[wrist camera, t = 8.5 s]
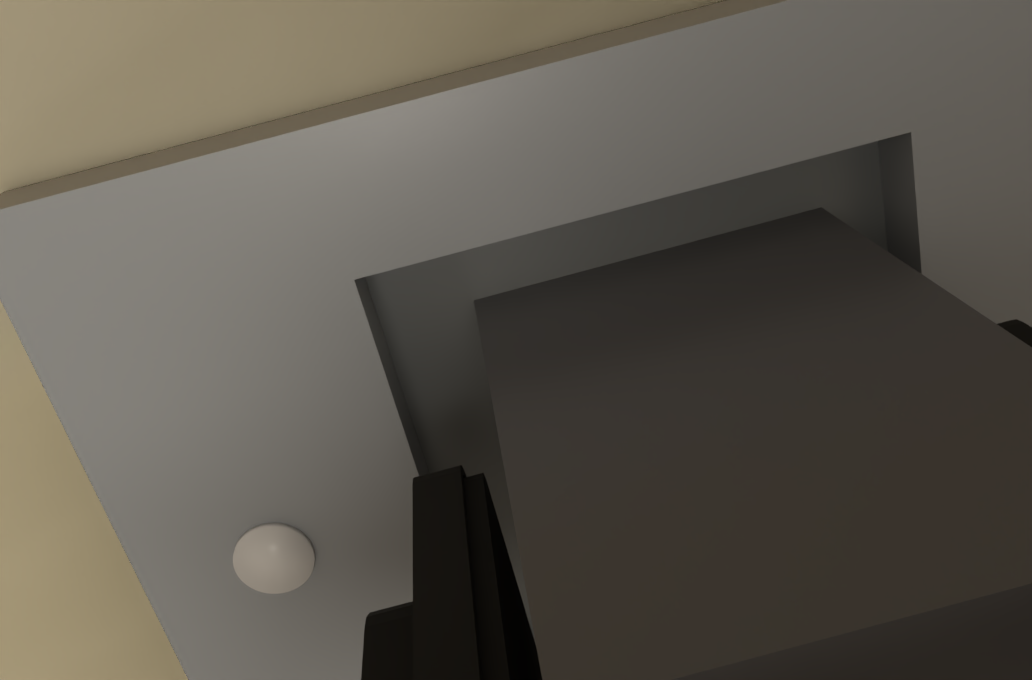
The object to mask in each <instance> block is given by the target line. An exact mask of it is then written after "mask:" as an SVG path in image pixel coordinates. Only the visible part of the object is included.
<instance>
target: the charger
mask: <svg viewBox="0 0 1032 680" xmlns="http://www.w3.org/2000/svg"><path fill="white" fill-rule="evenodd" d="M474 304H475V309H476V315H477V321H478V326H479V332H480V337H481V343H482V348H483V354H484V359H485V365H486V370H487V376H488V381H489V387H490V393H491V398H492V404H493V409H494V415H495V420H496V426H497V431H498V437H499V442H500V448H501V453H502V459H503V465H504V470H505V476H506V481H507V487H508V492H509V498H510V503H511V509H512V514H513V520H514V525H515V531H516V537H517V542H518V548H519V553H520V559H521V564H522V570H523V575H524V581H525V586H526V592H527V597H528V603H529V609H530V614H531V620H532V625H533V631H534V636H535V642H536V647H537V653H538V658H539V664H540V669H541V675H542V680H1032V347H1030V346H1029V345H1027V344H1026V343H1024V342H1023V341H1021V340H1020V339H1018V338H1017V337H1015V336H1014V335H1012V334H1011V333H1009V332H1008V331H1006V330H1005V329H1003V328H1002V327H1000V326H999V325H997V324H996V323H994V322H993V321H991V320H990V319H988V318H987V317H985V316H984V315H982V314H981V313H979V312H978V311H976V310H975V309H973V308H972V307H970V306H969V305H967V304H966V303H964V302H963V301H961V300H960V299H958V298H957V297H955V296H954V295H952V294H951V293H949V292H948V291H946V290H945V289H943V288H942V287H940V286H939V285H937V284H936V283H934V282H933V281H931V280H930V279H928V278H927V277H925V276H924V275H922V274H921V273H919V272H918V271H916V270H915V269H913V268H912V267H910V266H909V265H907V264H906V263H904V262H903V261H901V260H900V259H898V258H897V257H895V256H894V255H892V254H891V253H889V252H888V251H886V250H885V249H883V248H882V247H880V246H879V245H877V244H876V243H874V242H873V241H871V240H870V239H868V238H867V237H865V236H864V235H862V234H861V233H859V232H858V231H856V230H855V229H853V228H852V227H850V226H849V225H847V224H846V223H844V222H843V221H841V220H840V219H838V218H837V217H835V216H834V215H832V214H831V213H829V212H828V211H826V210H825V209H823V208H822V207H820V208H816V209H813V210H809V211H805V212H801V213H798V214H794V215H790V216H787V217H783V218H779V219H775V220H772V221H768V222H764V223H760V224H757V225H753V226H749V227H745V228H742V229H738V230H734V231H731V232H727V233H723V234H719V235H716V236H712V237H708V238H704V239H701V240H697V241H693V242H689V243H686V244H682V245H678V246H675V247H671V248H667V249H663V250H660V251H656V252H652V253H648V254H645V255H641V256H637V257H634V258H630V259H626V260H622V261H619V262H615V263H611V264H607V265H604V266H600V267H596V268H592V269H589V270H585V271H581V272H578V273H574V274H570V275H566V276H563V277H559V278H555V279H551V280H548V281H544V282H540V283H536V284H533V285H529V286H525V287H522V288H518V289H514V290H510V291H507V292H503V293H499V294H495V295H492V296H488V297H484V298H480V299H477V300H474Z"/></svg>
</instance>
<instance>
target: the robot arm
mask: <svg viewBox="0 0 1032 680" xmlns="http://www.w3.org/2000/svg"><path fill="white" fill-rule="evenodd" d="M997 325H999V326H1000V327H1002V328H1003V329H1005V330H1006V331H1008V332H1009V333H1011V334H1012V335H1014V336H1015V337H1017V338H1018V339H1020V340H1021V341H1023V342H1024V343H1026V344H1027V345H1029V346H1030V347H1032V327H1030V326H1029V325H1027V324H1026V323H1024V322H1022V321H1020V320H1017V319H1015V320H1010V321H1006V322H1002V323H998V324H997ZM412 493H413V601H412V602H408V603H404V604H400V605H397V606H393V607H389V608H385V609H381V610H378V611H374V612H370V613H369V614H368V615H367V617H366V622H365V628H364V643H363V658H362V674H361V680H542V675H541V669H540V664H539V658H538V653H537V648H536V645H535V641H534V638H533V634H532V631H531V628H530V624H529V621H528V618H527V614H526V611H525V608H524V604H523V601H522V598H521V594H520V591H519V588H518V584H517V581H516V578H515V574H514V571H513V567H512V564H511V561H510V557H509V554H508V551H507V547H506V544H505V541H504V537H503V534H502V531H501V527H500V524H499V521H498V517H497V514H496V511H495V507H494V504H493V501H492V497H491V494H490V490H489V487H488V484H487V481H486V478H485V475H484V473H480V474H476V475H473V476H469V477H466V474H465V471H464V469H463V467H462V465H459V466H456V467H452V468H448V469H444V470H440V471H437V472H433V473H429V474H425V475H421V476H418V477H414V478H413V483H412Z"/></svg>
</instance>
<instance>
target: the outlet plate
mask: <svg viewBox="0 0 1032 680" xmlns="http://www.w3.org/2000/svg"><path fill="white" fill-rule="evenodd" d="M820 207H822V208H823V209H825V210H826V211H828V212H829V213H831V214H832V215H834V216H835V217H837V218H838V219H840V220H841V221H843V222H844V223H846V224H847V225H849V226H850V227H852V228H853V229H855V230H856V231H858V232H859V233H861V234H862V235H864V236H865V237H867V238H868V239H870V240H871V241H873V242H874V243H876V244H877V245H879V246H880V247H882V248H883V249H885V250H886V251H888V252H889V253H891V254H892V255H894V256H895V257H897V258H898V259H900V260H901V261H903V262H904V263H906V264H907V265H909V266H910V267H912V268H913V269H915V270H916V271H918V272H919V273H921V274H922V275H924V276H925V277H927V278H928V279H930V280H931V281H933V282H934V283H936V284H937V285H939V286H940V287H942V288H943V289H945V290H946V291H948V292H949V293H951V294H952V295H954V296H955V297H957V298H958V299H960V300H961V301H963V302H964V303H966V304H967V305H969V306H970V307H972V308H973V309H975V310H976V311H978V312H979V313H981V314H982V315H984V316H985V317H987V318H988V319H990V320H991V321H993V322H994V323H996V324H998V323H1002V322H1006V321H1010V320H1015V319H1017V320H1020V321H1022V322H1024V323H1026V324H1027V325H1029V326H1030V327H1032V0H726V1H722V2H718V3H714V4H711V5H707V6H703V7H699V8H696V9H692V10H688V11H684V12H681V13H677V14H673V15H669V16H665V17H662V18H658V19H654V20H650V21H647V22H643V23H639V24H635V25H632V26H628V27H624V28H620V29H616V30H613V31H609V32H605V33H601V34H598V35H594V36H590V37H586V38H583V39H579V40H575V41H571V42H568V43H564V44H560V45H556V46H552V47H549V48H545V49H541V50H537V51H534V52H530V53H526V54H522V55H519V56H515V57H511V58H507V59H503V60H500V61H496V62H492V63H488V64H485V65H481V66H477V67H473V68H470V69H466V70H462V71H458V72H454V73H451V74H447V75H443V76H439V77H436V78H432V79H428V80H424V81H421V82H417V83H413V84H409V85H405V86H402V87H398V88H394V89H390V90H387V91H383V92H379V93H375V94H372V95H368V96H364V97H360V98H356V99H353V100H349V101H345V102H341V103H338V104H334V105H330V106H326V107H323V108H319V109H315V110H311V111H307V112H304V113H300V114H296V115H292V116H289V117H285V118H281V119H277V120H274V121H270V122H266V123H262V124H259V125H255V126H251V127H247V128H243V129H240V130H236V131H232V132H228V133H225V134H221V135H217V136H213V137H210V138H206V139H202V140H198V141H194V142H191V143H187V144H183V145H179V146H176V147H172V148H168V149H164V150H161V151H157V152H153V153H149V154H145V155H142V156H138V157H134V158H130V159H127V160H123V161H119V162H115V163H112V164H108V165H104V166H100V167H96V168H93V169H89V170H85V171H81V172H78V173H74V174H70V175H66V176H63V177H59V178H55V179H51V180H47V181H44V182H40V183H36V184H32V185H29V186H25V187H21V188H17V189H14V190H10V191H6V192H3V193H2V194H0V300H1V302H2V304H3V306H4V308H5V310H6V312H7V314H8V316H9V318H10V320H11V322H12V324H13V326H14V328H15V330H16V332H17V334H18V336H19V338H20V340H21V342H22V345H23V347H24V349H25V351H26V353H27V355H28V357H29V359H30V361H31V363H32V365H33V367H34V369H35V371H36V373H37V375H38V377H39V379H40V381H41V383H42V385H43V387H44V389H45V391H46V393H47V395H48V397H49V399H50V401H51V403H52V405H53V407H54V409H55V411H56V413H57V415H58V417H59V419H60V421H61V423H62V425H63V427H64V429H65V431H66V433H67V435H68V437H69V439H70V441H71V444H72V446H73V448H74V450H75V452H76V454H77V456H78V458H79V460H80V462H81V464H82V466H83V468H84V470H85V472H86V474H87V476H88V478H89V480H90V482H91V484H92V486H93V488H94V490H95V492H96V494H97V496H98V498H99V500H100V502H101V504H102V506H103V508H104V510H105V512H106V514H107V516H108V518H109V520H110V522H111V524H112V526H113V528H114V530H115V532H116V534H117V536H118V538H119V540H120V543H121V545H122V547H123V549H124V551H125V553H126V555H127V557H128V559H129V561H130V563H131V565H132V567H133V569H134V571H135V573H136V575H137V577H138V579H139V581H140V583H141V585H142V587H143V589H144V591H145V593H146V595H147V597H148V599H149V601H150V603H151V605H152V607H153V609H154V611H155V613H156V615H157V617H158V619H159V621H160V623H161V625H162V627H163V629H164V631H165V633H166V635H167V637H168V639H169V642H170V644H171V646H172V648H173V650H174V652H175V654H176V656H177V658H178V660H179V662H180V664H181V666H182V668H183V670H184V672H185V674H186V676H187V678H188V680H361V674H362V658H363V643H364V628H365V622H366V617H367V615H368V614H369V613H370V612H374V611H378V610H381V609H385V608H389V607H393V606H397V605H400V604H404V603H408V602H412V601H413V493H412V483H413V478H414V477H418V476H421V475H425V474H429V473H433V472H437V471H440V470H444V469H448V468H452V467H456V466H459V465H462V467H463V469H464V471H465V474H466V477H469V476H473V475H476V474H480V473H484V475H485V478H486V481H487V484H488V487H489V490H490V494H491V497H492V501H493V504H494V507H495V511H496V514H497V517H498V521H499V524H500V527H501V531H502V534H503V537H504V541H505V544H506V547H507V551H508V554H509V557H510V561H511V564H512V567H513V571H514V574H515V578H516V581H517V584H518V588H519V591H520V594H521V598H522V601H523V604H524V608H525V611H526V614H527V618H528V621H529V624H530V628H531V631H532V634H533V638H534V641H535V636H534V631H533V625H532V620H531V614H530V609H529V603H528V597H527V592H526V586H525V581H524V575H523V570H522V564H521V559H520V553H519V548H518V542H517V537H516V531H515V525H514V520H513V514H512V509H511V503H510V498H509V492H508V487H507V481H506V476H505V470H504V465H503V459H502V453H501V448H500V442H499V437H498V431H497V426H496V420H495V415H494V409H493V404H492V398H491V393H490V387H489V381H488V376H487V370H486V365H485V359H484V354H483V348H482V343H481V337H480V332H479V326H478V321H477V315H476V309H475V304H474V300H477V299H480V298H484V297H488V296H492V295H495V294H499V293H503V292H507V291H510V290H514V289H518V288H522V287H525V286H529V285H533V284H536V283H540V282H544V281H548V280H551V279H555V278H559V277H563V276H566V275H570V274H574V273H578V272H581V271H585V270H589V269H592V268H596V267H600V266H604V265H607V264H611V263H615V262H619V261H622V260H626V259H630V258H634V257H637V256H641V255H645V254H648V253H652V252H656V251H660V250H663V249H667V248H671V247H675V246H678V245H682V244H686V243H689V242H693V241H697V240H701V239H704V238H708V237H712V236H716V235H719V234H723V233H727V232H731V231H734V230H738V229H742V228H745V227H749V226H753V225H757V224H760V223H764V222H768V221H772V220H775V219H779V218H783V217H787V216H790V215H794V214H798V213H801V212H805V211H809V210H813V209H816V208H820ZM535 645H536V642H535ZM536 648H537V647H536Z"/></svg>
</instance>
